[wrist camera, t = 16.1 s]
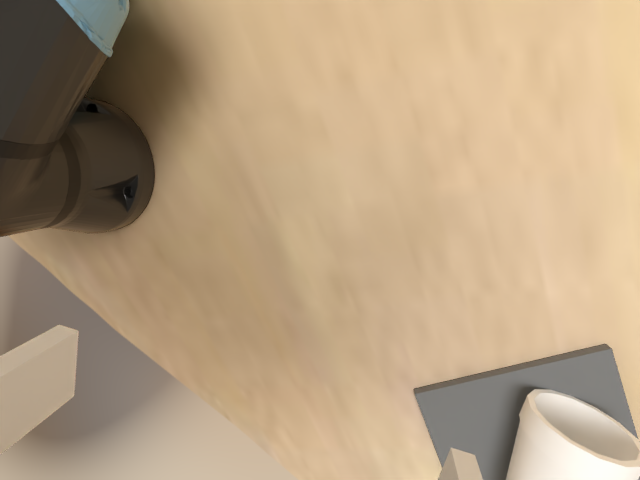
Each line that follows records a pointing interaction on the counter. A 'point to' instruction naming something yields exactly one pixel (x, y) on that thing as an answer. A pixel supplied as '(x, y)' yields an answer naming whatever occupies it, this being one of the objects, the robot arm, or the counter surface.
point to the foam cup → (571, 442)
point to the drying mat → (515, 403)
